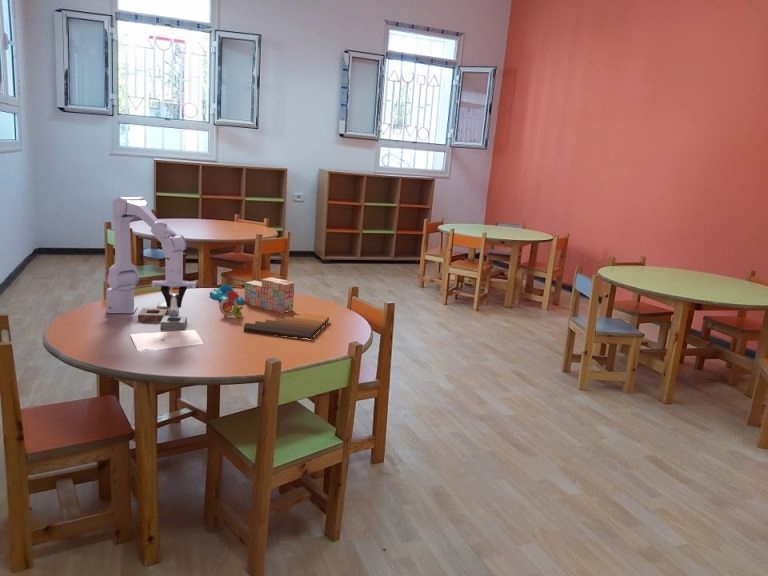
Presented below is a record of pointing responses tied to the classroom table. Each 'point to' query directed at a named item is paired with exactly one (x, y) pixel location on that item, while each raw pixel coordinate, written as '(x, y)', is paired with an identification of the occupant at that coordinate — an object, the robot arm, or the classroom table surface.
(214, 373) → the classroom table surface
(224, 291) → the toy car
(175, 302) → the steel peg
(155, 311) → the socket block
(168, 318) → the block
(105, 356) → the classroom table surface
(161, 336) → the paper sheet
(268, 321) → the pan flute
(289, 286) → the stack of blocks
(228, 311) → the bird rattle
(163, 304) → the block
